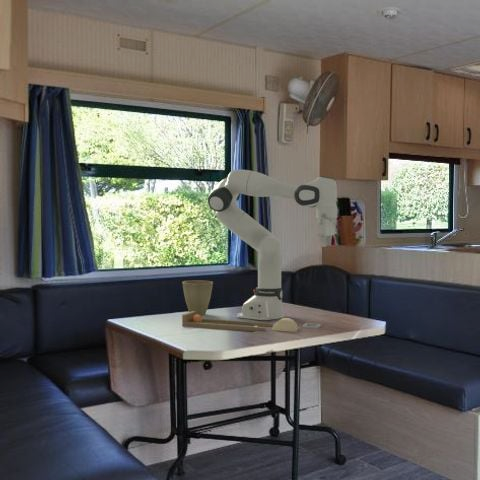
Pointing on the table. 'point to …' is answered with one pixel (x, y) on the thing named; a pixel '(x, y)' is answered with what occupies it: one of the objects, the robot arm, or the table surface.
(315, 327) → the coaster
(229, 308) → the table surface
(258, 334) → the table surface
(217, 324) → the lane
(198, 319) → the ball
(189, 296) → the plant pot
